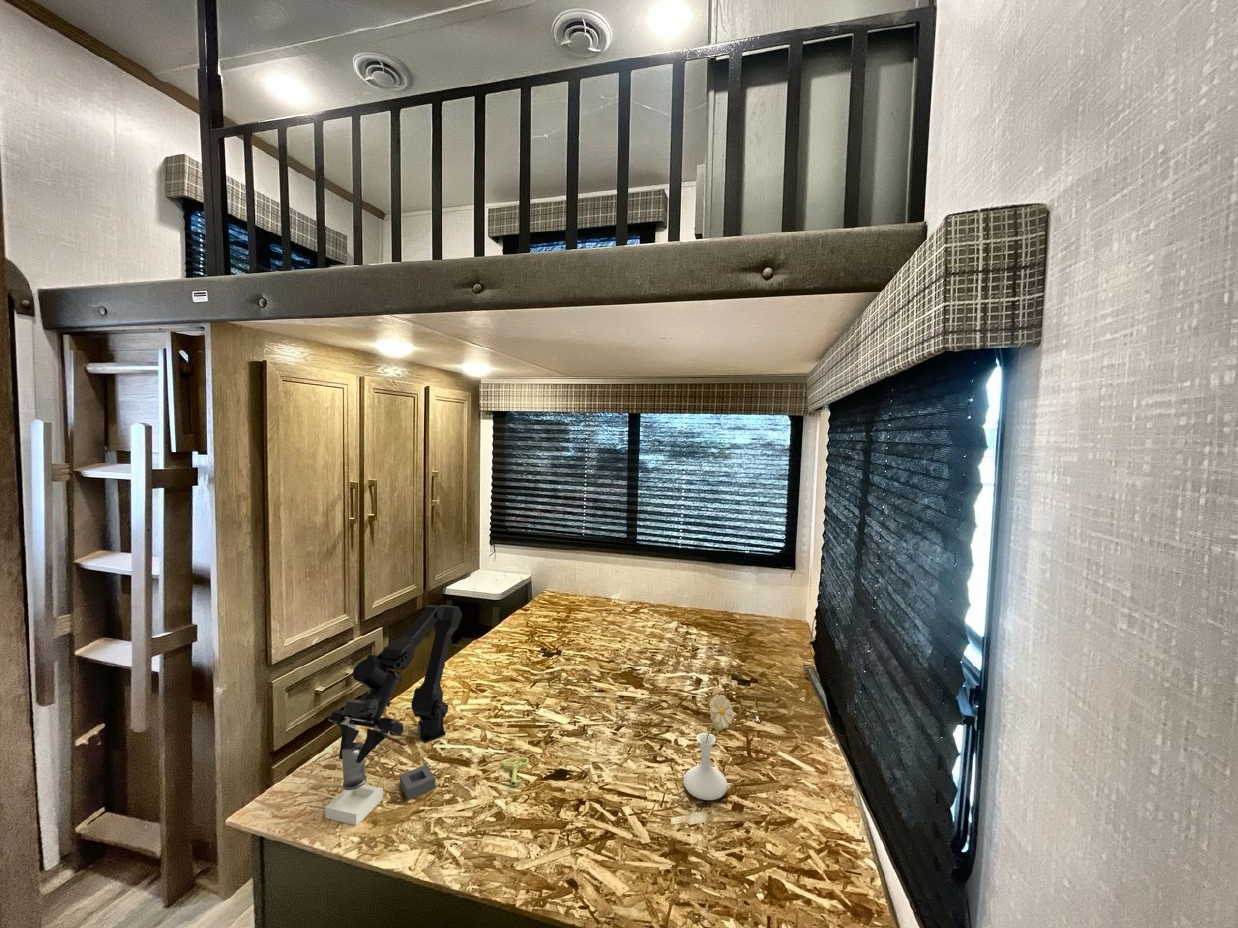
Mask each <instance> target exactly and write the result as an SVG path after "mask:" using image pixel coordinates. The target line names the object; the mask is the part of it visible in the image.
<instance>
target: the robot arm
mask: <svg viewBox="0 0 1238 928" xmlns="http://www.w3.org/2000/svg"><path fill="white" fill-rule="evenodd" d="M462 611H463V610H461V608H460V606H456V605H455V606H452V605H446V604H440V605H431V604H430V605H426V606H425V607H424V608H423V611H422V613H421V614H420V615H419V616H418V618H416V620H414V622H413V623H412V624H411V626H410V627H409V628H408V629H407V630H406V632H404V634H403V635H401V636H400V637H399V638H397V639H395V640H394V639H393V640H392V641H391V642H390V643H389V644H387V646H385V647H383V650H382V651H381V652H380V653H378V654H376V655H375V654H368V655H367V657H366V658H365V659H363V660H361V661H360V662H358V663H357V665H355V667H354V668H353V671H352V677H353V679H354V680H355V681H356V682H358V683H360V684H361V685H363V686H365V687H367V688H369V689H368V692H367V693H363V694H362V695H361V698H360V699H350V700H346V701H345V704H344V709H335V710H333V711H332V712H331V713H330V715H329V717H328V719H327V721H329V722H331V723H333V724H336V725H337V727H338V728H339V729H340V731H341V737H340V738H341V741H340V749H339V755H338V759H339V760H340V761H341V760H342V749H343V748H344V747H345V746H347V745H348V744H351V743H354V742H355V740H356V738H357V736H358V735H359V733H360V730H357V729H356V728H357V726H360V727H364V728H365V727H366V728H367V729H366V738H365V740H364V742H363V747H362V749H361V751H360V753H359V756H358V759H357V763H361V761H362V760H363V759H364V758H365V759H366V757H368V755H369V754H370V753H371V752H373V750H374V749H376V747H377V746H378V745H380V744H381V743H382V742H383V741H384V740H385V739H388V738H389V735H390V736H396V737H401V736H402V735H403V732H404V724H403V723H402V722H400V721H398V720H397V719H394V718H389V717H385V716H383V715H384V713H385V710H386V708H387V707H389V708H390V706H391V704H392V702H391V701H390V699H391V696H392V694H393V693H394V689H395V687H396V685H397V683H402V682H403V678H402V675H401V672H400V671H396V670H405V669H407V667H409V665H410V664H411V662H412V661H413V659H414V657H415V656H416V648H417V647H418V645H419V644H420V642H422V640H423V639H424V638H425V637H426V635H427V634H428V633H429V631H430V630H431V629H432V628H433V631H434V638H433V642H432V645H431V650H430V654H429V658H428V662H427V667H426V670H425V675H424V679H423V682H422V683H421V685H419V687H416V688H415V689H414V691H413V695H412V696H413V697H412V699H411V710H412V712H413V716H414V717H416V718H419V720H418V721H417V735H418V736H419V738H420V739H422V742H424V743H427V742H430V741H432V740H435V739H438V738H441V737H443V736H445V735H446V731H445V730H444V718H446V716H447V714H448V713H449V712H448V711H449V704H447V703H446V702H445V701H443V698H444V692H443V689H442V686H441V683H442V677H443V673H444V670H445V669H444V667H445V665H446V660H447V656H448V651H449V648H450V642H451V638H452V635H453V634H454V633H455V631H457V629H458V628H459V626H460V622H461V619H462V618H463V612H462ZM388 734H389V735H388Z"/></svg>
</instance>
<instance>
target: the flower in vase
mask: <svg viewBox="0 0 1238 928" xmlns="http://www.w3.org/2000/svg"><path fill="white" fill-rule="evenodd" d="M709 708H710V710H709V713H710V719H711V721H712V722H711V726H710V727H709V730H705V729H701V728H699V731H700V732H701V733H698V734H697V735H696V741H697V742H698V744H699V746H700V753H701V758H700V759H701V760H700V764H698V765H695V766H693V767H691V768H689V770H687V771H686V773H685V774H684V777H683V785H684V788H686V790H687V792H688V793H689V794H690V795H692V796H693V797H695V798H697V799H699V800H703V801H714V800H718V799H720V798H722V797H723V796H724V795H725V794H726V793H727V791H728V788H729V785H728V782H727V779H726V776H725V775H724V774H723V773H722V772H721V771H720V770H719V769H718V768H715V766H713V765H712V764H711V751H712V747H713V746H714V744H715V743H716V741H717V739H716V737H715V735H713V734H712V733H711V730H712V729H713V728H714V729H715V730H716V731H717V732H721V731H723V730H724V729H728V728H729V726H730V725H731V724H732V723H733V720H734V716H733V715H734V710H733V705H732V703H731V701H730V700H728V699H727V697H726V696H725V695H722V694H720V695H719V694H716V695H715V696H714V697H713V699H712V700H711V701H710V705H709ZM729 724H730V725H729Z"/></svg>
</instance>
